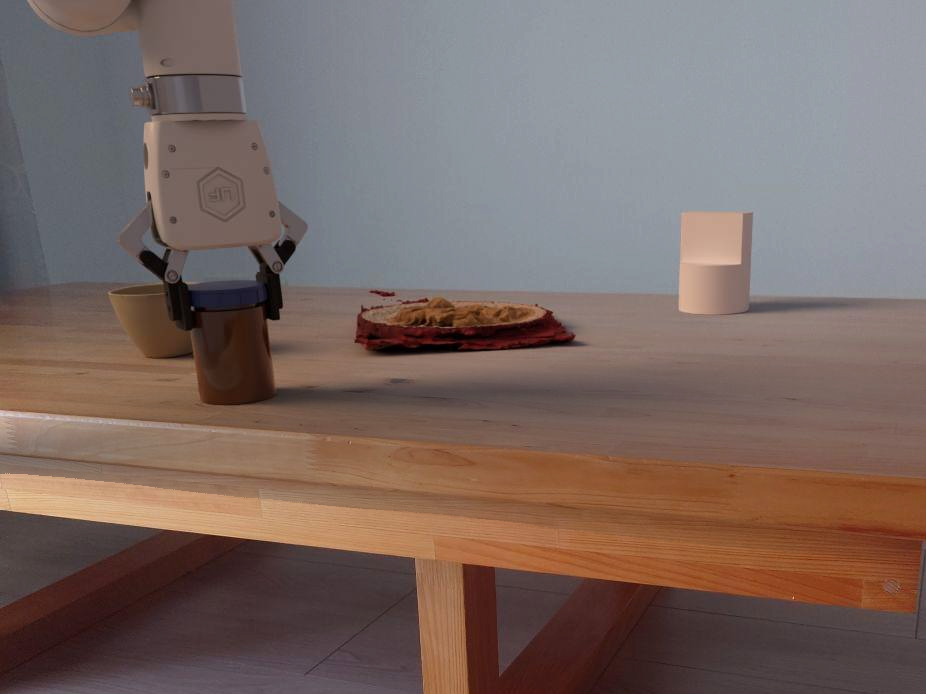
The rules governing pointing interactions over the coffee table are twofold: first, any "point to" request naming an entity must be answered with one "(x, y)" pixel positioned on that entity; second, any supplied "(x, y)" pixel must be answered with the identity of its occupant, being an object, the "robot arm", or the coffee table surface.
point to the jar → (232, 354)
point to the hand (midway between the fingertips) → (228, 322)
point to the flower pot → (150, 320)
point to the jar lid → (227, 293)
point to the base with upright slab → (715, 262)
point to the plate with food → (457, 324)
